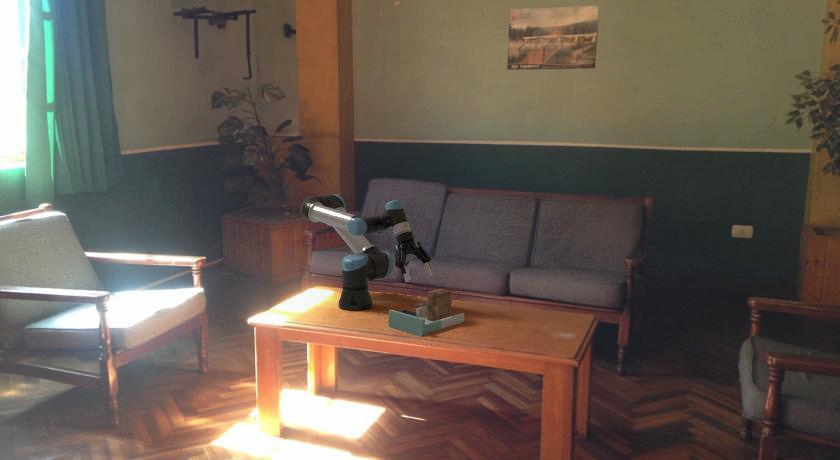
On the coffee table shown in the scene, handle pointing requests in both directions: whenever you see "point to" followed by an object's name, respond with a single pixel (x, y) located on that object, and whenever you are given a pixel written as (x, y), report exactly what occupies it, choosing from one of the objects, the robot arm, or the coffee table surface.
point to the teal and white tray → (420, 322)
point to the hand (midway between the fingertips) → (419, 279)
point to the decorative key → (422, 303)
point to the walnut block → (438, 304)
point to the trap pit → (408, 312)
